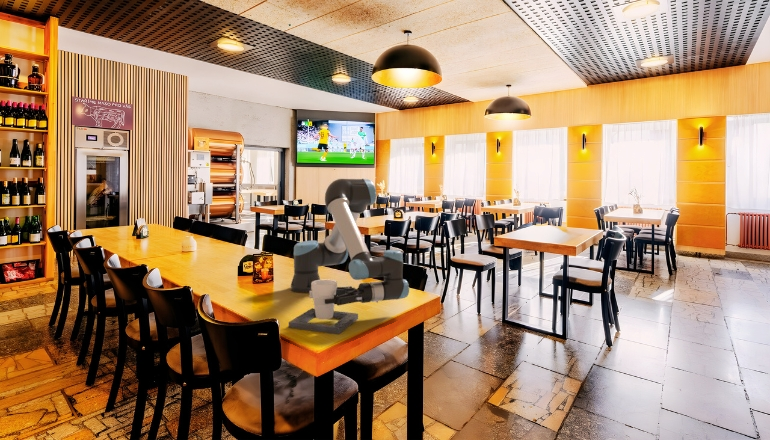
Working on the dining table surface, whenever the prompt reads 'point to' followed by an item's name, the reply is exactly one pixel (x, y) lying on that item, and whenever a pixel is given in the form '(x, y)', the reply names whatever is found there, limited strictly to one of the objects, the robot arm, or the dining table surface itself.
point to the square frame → (337, 328)
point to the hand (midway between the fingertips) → (312, 298)
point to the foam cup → (324, 290)
